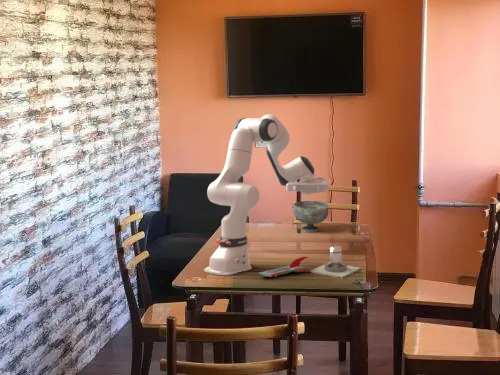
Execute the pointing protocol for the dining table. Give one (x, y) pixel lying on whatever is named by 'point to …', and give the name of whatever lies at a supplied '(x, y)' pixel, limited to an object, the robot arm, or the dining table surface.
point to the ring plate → (336, 274)
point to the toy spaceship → (287, 268)
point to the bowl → (310, 214)
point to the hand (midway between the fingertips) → (306, 189)
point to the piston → (335, 256)
